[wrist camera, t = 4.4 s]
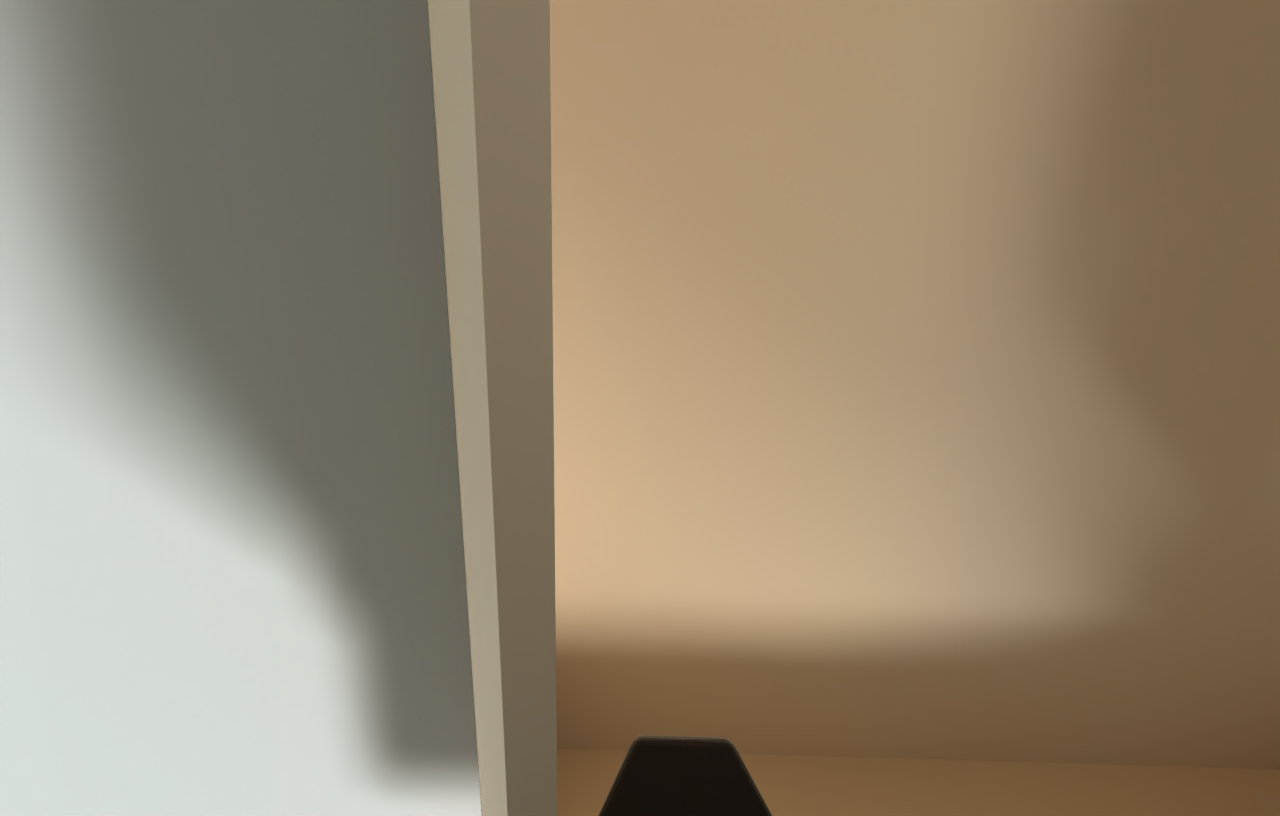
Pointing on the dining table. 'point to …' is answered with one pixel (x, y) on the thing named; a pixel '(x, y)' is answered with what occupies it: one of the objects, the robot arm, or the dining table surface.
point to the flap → (502, 376)
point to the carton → (920, 400)
